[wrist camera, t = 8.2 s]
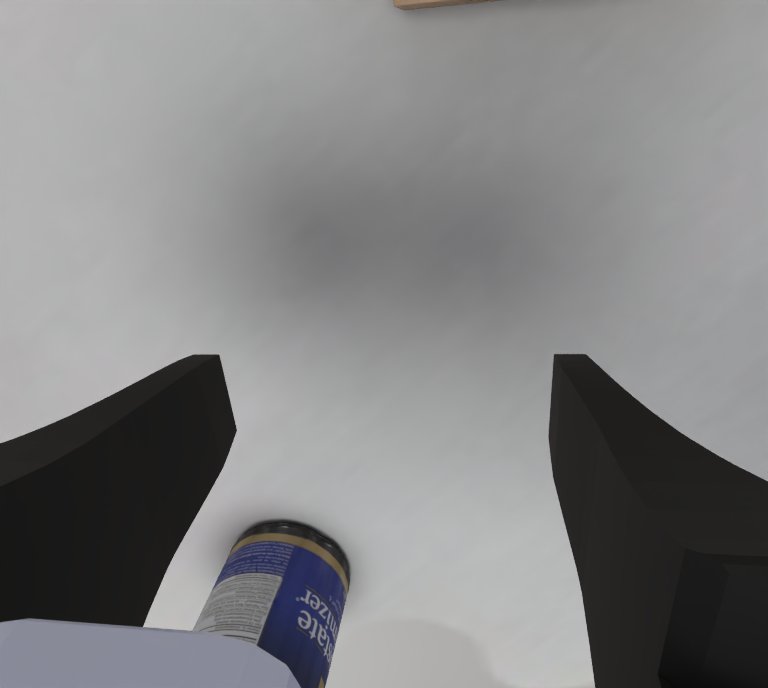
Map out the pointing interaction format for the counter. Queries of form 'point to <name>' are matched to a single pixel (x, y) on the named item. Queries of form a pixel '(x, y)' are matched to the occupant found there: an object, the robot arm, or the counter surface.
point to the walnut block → (431, 3)
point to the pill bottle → (282, 598)
